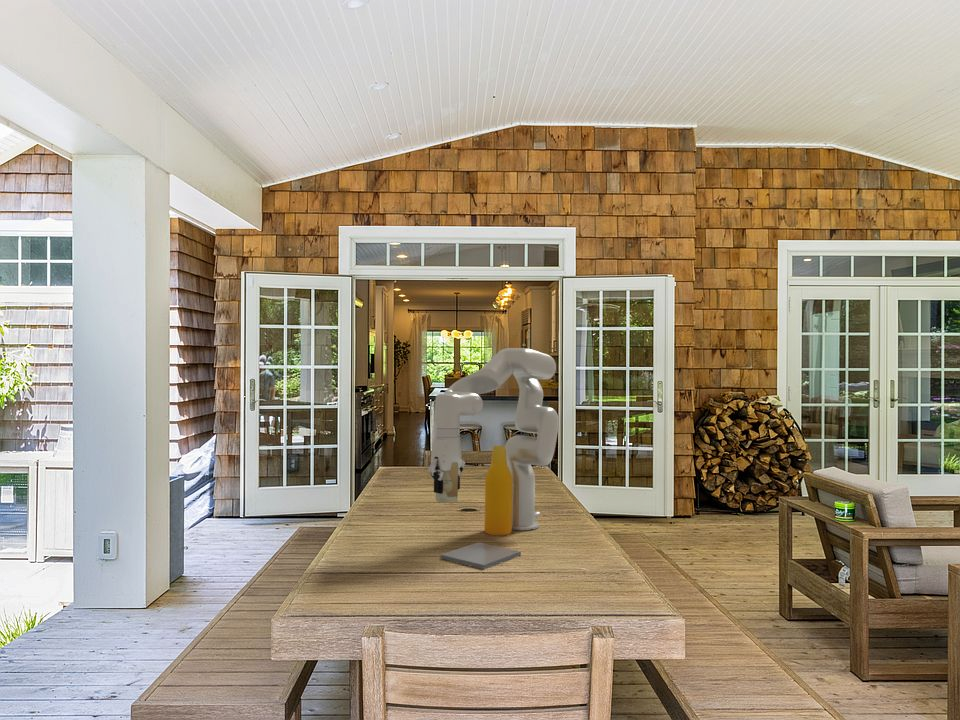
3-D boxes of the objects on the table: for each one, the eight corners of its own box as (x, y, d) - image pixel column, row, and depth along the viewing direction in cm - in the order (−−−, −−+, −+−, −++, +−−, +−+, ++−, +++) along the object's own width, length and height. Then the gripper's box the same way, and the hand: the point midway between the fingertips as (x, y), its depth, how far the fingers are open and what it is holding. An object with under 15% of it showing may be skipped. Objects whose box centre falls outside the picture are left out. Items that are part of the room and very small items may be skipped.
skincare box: (438, 503, 214) (438, 463, 214) (435, 500, 218) (435, 460, 218) (458, 502, 215) (459, 462, 215) (455, 499, 220) (455, 460, 219)
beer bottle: (509, 536, 231) (510, 448, 231) (481, 535, 233) (483, 447, 233) (513, 530, 240) (514, 445, 240) (487, 528, 242) (488, 444, 242)
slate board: (478, 546, 219) (478, 542, 219) (520, 555, 209) (520, 551, 209) (440, 558, 205) (440, 554, 205) (484, 569, 195) (484, 565, 195)
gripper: (456, 430, 226) (455, 485, 226) (419, 435, 212) (418, 493, 212) (474, 432, 221) (474, 488, 221) (438, 437, 207) (437, 497, 207)
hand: (446, 490), depth 217 cm, fingers closed on skincare box, 7 cm apart
